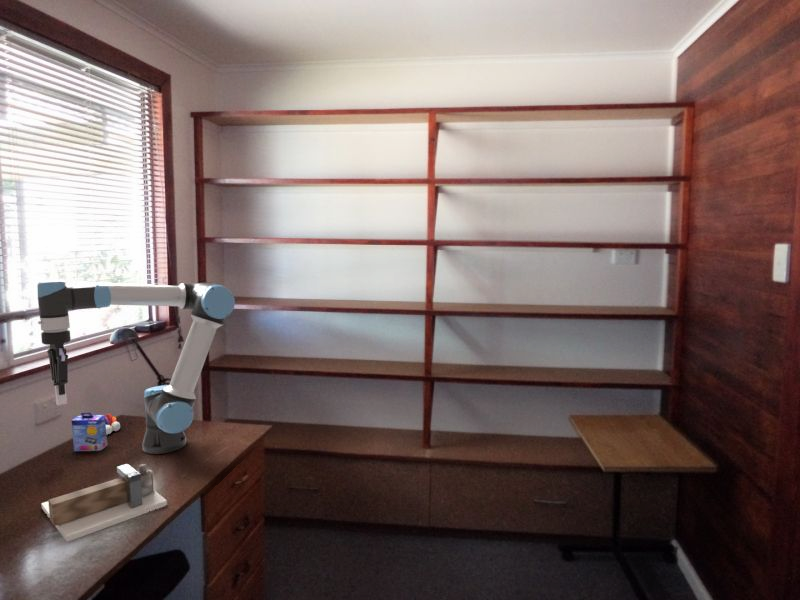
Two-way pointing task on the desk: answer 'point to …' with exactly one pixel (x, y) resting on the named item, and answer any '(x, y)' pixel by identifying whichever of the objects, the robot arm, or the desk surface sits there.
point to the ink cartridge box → (89, 432)
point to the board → (106, 516)
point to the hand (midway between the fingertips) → (61, 403)
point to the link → (95, 498)
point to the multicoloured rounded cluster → (111, 424)
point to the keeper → (131, 485)
